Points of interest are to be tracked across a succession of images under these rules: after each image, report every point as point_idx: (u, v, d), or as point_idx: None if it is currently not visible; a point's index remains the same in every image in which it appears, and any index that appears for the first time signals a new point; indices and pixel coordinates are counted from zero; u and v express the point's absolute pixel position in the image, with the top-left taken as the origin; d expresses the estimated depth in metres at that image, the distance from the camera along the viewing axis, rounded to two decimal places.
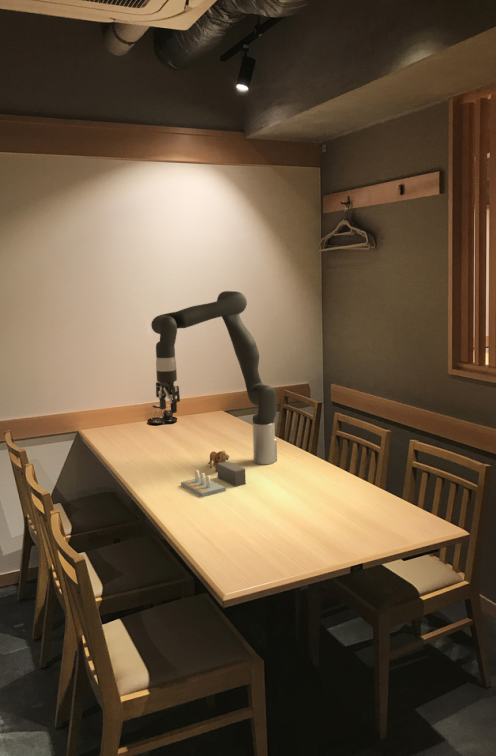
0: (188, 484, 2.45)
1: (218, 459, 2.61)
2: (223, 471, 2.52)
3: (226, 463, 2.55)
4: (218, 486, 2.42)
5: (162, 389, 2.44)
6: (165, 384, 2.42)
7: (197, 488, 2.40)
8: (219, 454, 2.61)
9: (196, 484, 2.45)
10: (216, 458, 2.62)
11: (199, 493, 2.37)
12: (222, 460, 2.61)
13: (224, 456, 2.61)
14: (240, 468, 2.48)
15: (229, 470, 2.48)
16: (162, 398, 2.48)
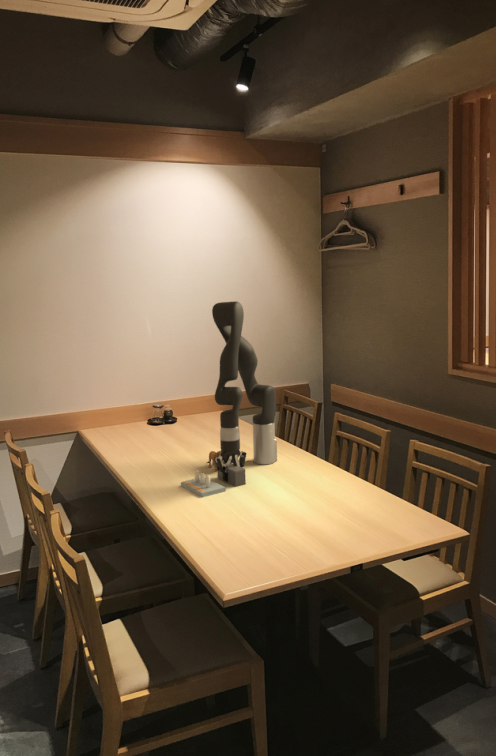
0: (188, 484, 2.45)
1: None
2: None
3: (226, 463, 2.55)
4: (218, 486, 2.42)
5: None
6: (233, 452, 2.50)
7: (197, 488, 2.40)
8: (218, 453, 2.62)
9: (196, 484, 2.45)
10: None
11: (199, 493, 2.37)
12: None
13: None
14: (240, 468, 2.48)
15: (229, 470, 2.48)
16: None
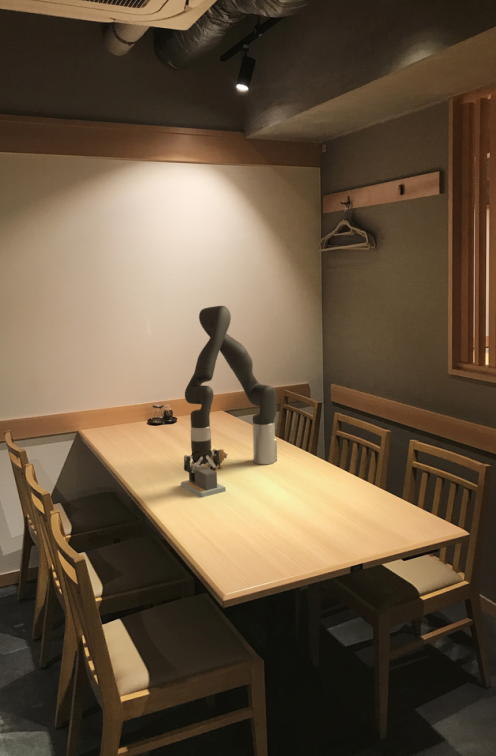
0: (188, 484, 2.45)
1: None
2: None
3: (198, 466, 2.47)
4: (218, 486, 2.42)
5: None
6: (204, 452, 2.42)
7: (197, 488, 2.40)
8: None
9: None
10: None
11: (199, 493, 2.37)
12: (221, 458, 2.63)
13: (222, 454, 2.63)
14: (211, 471, 2.40)
15: (200, 473, 2.41)
16: None
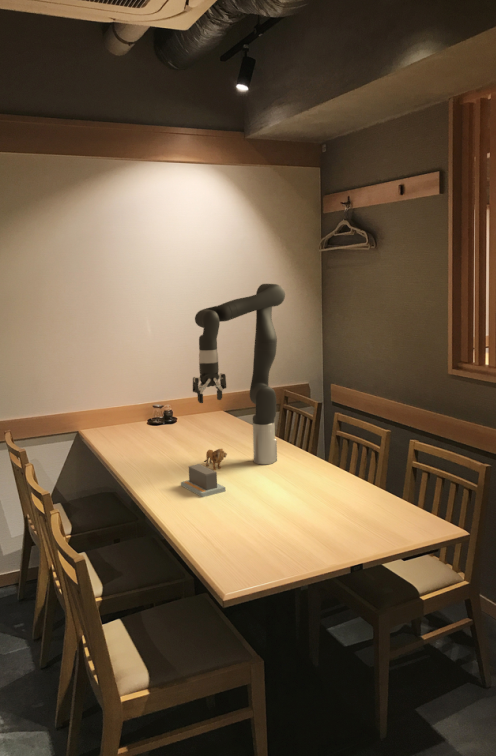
0: (188, 484, 2.45)
1: (216, 457, 2.64)
2: (194, 474, 2.44)
3: (198, 466, 2.47)
4: (218, 486, 2.42)
5: None
6: (212, 375, 2.54)
7: (197, 488, 2.40)
8: (217, 452, 2.64)
9: None
10: (214, 456, 2.65)
11: (199, 493, 2.37)
12: (220, 458, 2.64)
13: (222, 454, 2.64)
14: (211, 471, 2.40)
15: (200, 473, 2.41)
16: None
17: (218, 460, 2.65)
